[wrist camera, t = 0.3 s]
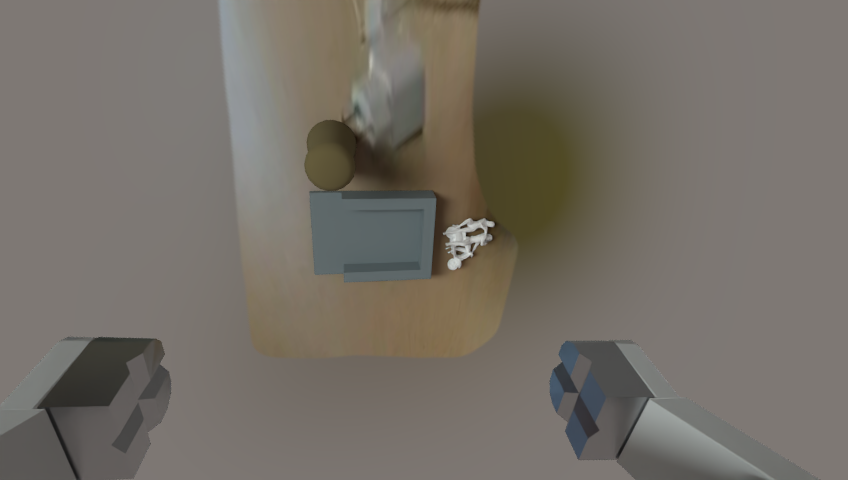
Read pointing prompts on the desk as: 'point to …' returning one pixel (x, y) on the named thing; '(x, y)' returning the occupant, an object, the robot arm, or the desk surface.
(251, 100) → the desk surface
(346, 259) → the tray
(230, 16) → the desk surface
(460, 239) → the figurine
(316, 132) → the cork
